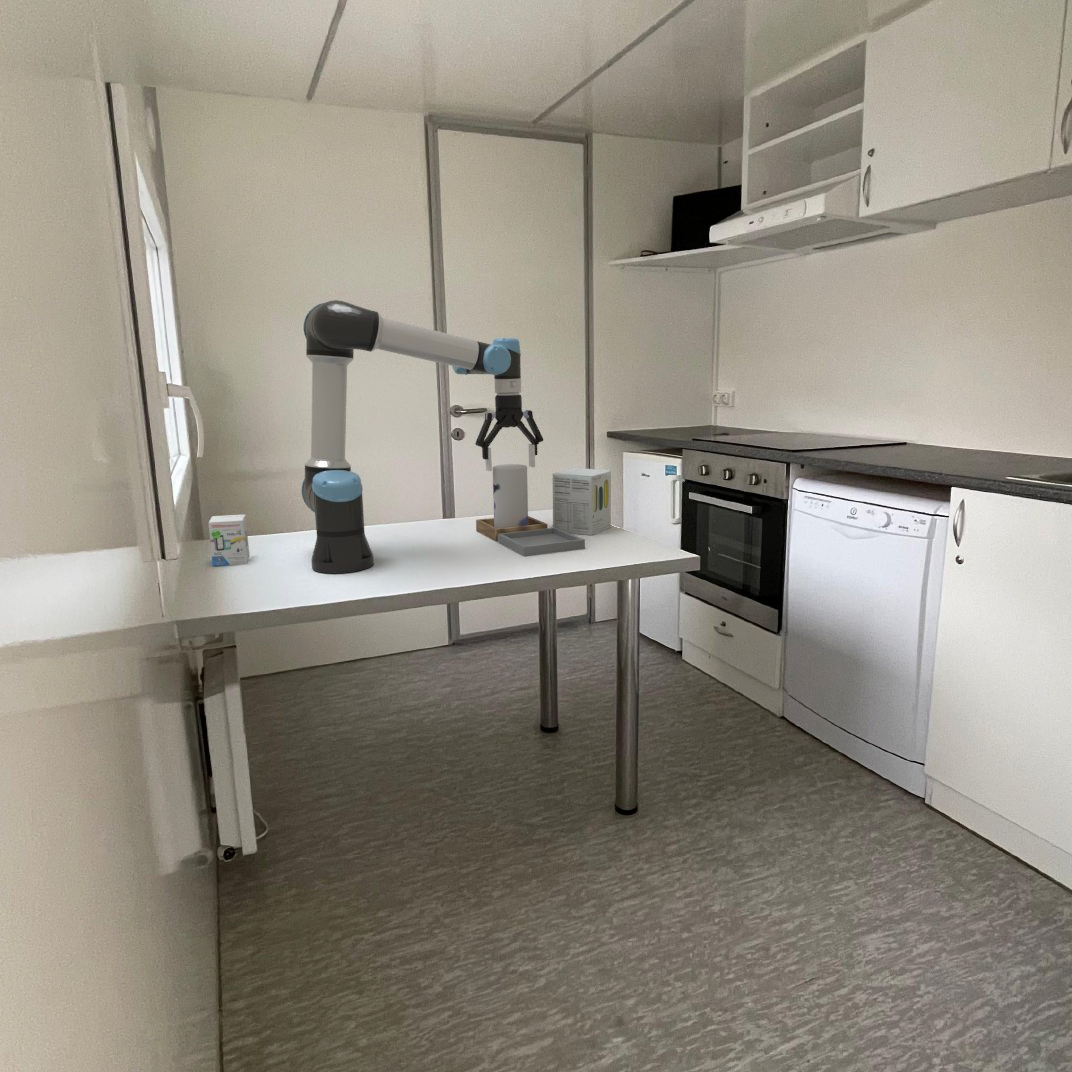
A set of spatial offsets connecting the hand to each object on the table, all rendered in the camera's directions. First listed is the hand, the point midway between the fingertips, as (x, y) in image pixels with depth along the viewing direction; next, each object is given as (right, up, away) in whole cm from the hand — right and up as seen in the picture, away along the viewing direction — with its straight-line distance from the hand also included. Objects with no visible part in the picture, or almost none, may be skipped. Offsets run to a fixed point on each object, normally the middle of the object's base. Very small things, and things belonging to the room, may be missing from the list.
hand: (510, 468), depth 225 cm
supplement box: (+21, -18, +8) cm, 29 cm away
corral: (0, -19, +4) cm, 19 cm away
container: (0, -19, +4) cm, 19 cm away
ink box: (-72, -26, -23) cm, 80 cm away
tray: (+9, -22, -11) cm, 26 cm away
